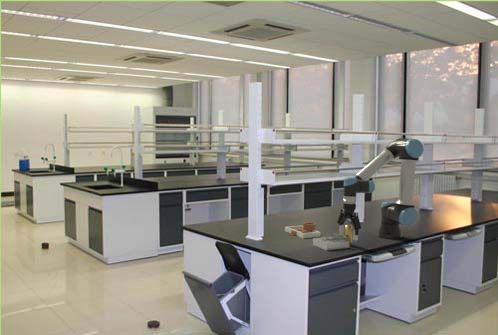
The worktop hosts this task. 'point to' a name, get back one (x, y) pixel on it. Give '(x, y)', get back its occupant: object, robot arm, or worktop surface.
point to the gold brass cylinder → (349, 233)
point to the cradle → (302, 235)
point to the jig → (332, 242)
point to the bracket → (304, 228)
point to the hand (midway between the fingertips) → (348, 237)
